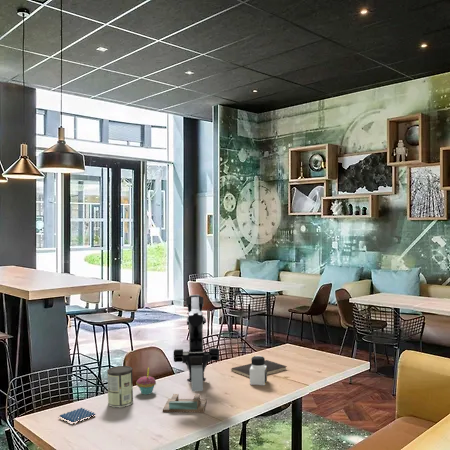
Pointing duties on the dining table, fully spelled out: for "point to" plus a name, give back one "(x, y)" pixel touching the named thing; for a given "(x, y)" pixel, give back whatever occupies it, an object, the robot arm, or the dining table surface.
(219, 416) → the dining table surface
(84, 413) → the woven mat
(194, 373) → the block
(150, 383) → the cupcake
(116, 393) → the coffee can
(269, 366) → the hardcover book
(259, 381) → the medicine bottle
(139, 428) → the dining table surface
